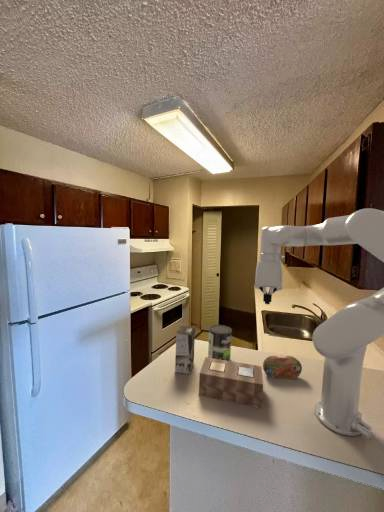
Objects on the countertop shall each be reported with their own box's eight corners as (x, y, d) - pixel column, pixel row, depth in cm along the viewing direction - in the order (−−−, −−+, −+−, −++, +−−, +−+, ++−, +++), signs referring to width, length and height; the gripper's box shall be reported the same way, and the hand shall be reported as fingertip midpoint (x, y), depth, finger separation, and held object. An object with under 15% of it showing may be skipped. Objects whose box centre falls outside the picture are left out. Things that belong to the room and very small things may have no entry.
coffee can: (235, 359, 103) (236, 329, 102) (220, 368, 96) (221, 335, 95) (217, 351, 110) (219, 322, 109) (202, 358, 103) (204, 328, 102)
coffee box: (190, 374, 91) (191, 335, 89) (174, 372, 92) (175, 333, 91) (194, 362, 99) (195, 326, 98) (180, 360, 101) (181, 325, 99)
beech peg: (224, 383, 85) (225, 364, 84) (222, 392, 80) (223, 371, 79) (211, 381, 86) (211, 361, 85) (208, 389, 81) (209, 369, 80)
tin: (264, 379, 89) (265, 358, 89) (261, 374, 93) (262, 354, 92) (301, 379, 90) (303, 359, 89) (297, 374, 93) (299, 354, 93)
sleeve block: (260, 386, 84) (261, 366, 84) (261, 407, 74) (263, 384, 73) (204, 376, 90) (205, 357, 89) (198, 395, 79) (199, 373, 78)
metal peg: (251, 389, 82) (253, 368, 82) (252, 398, 77) (253, 377, 77) (237, 386, 83) (238, 366, 83) (237, 395, 79) (238, 374, 78)
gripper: (288, 258, 92) (285, 302, 93) (250, 256, 95) (247, 299, 97) (291, 259, 84) (288, 308, 86) (250, 257, 88) (247, 304, 89)
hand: (267, 303), depth 91 cm, fingers closed
